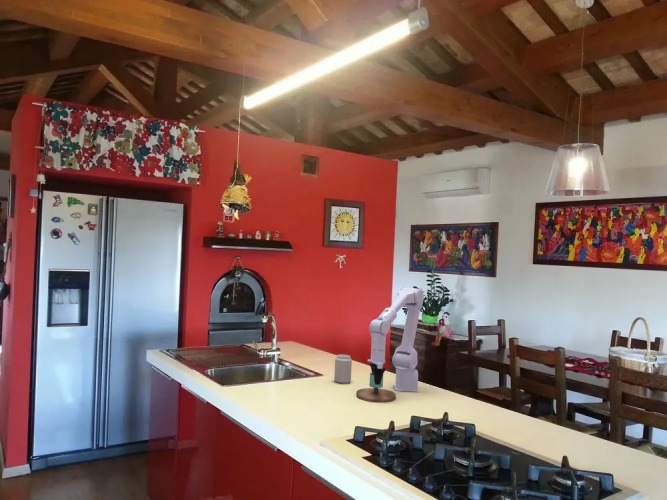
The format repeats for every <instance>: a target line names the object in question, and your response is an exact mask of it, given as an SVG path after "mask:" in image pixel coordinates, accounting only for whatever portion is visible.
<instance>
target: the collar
mask: <svg viewBox="0 0 667 500" xmlns="http://www.w3.org/2000/svg"><path fill="white" fill-rule="evenodd" d="M368 385H369V388H379V389H383V388H384V375H383V376H382V380H381V384H380V385H375V382H374V374H373V373H372V372H369V384H368Z"/></svg>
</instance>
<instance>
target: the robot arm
mask: <svg viewBox="0 0 667 500" xmlns="http://www.w3.org/2000/svg"><path fill="white" fill-rule="evenodd" d="M396 296H397V297H396V298H395V299H394V301H393V303H392V304H391V305H390V306H389V307H385V308H384V310H383V311H381V313H380V315H378V317H377V318H376V319H372V320H371V322H369V323H370V324H369V327H368V329H369V332H370V337H371V342H370V343H371V346H370V347H371V349H370V359H369V358H368V359H367V362H368V363H369V367H370V369H371V371H370V372H371V373H373V374H374V382H375V385H380V384H381V380H382V376H383V377H384V373H385V371H386V369H387V368H386V367H384V365H385V363H386V343H387V340H386V339H387V334H388V333H389V332H390V328H391V324H392V323H393V322H394V321H395V320H396V318H397V317H398V315H397V313H398V312H399V311H400V310H401V309H402V308H403V307H406V309H407V313H406V319H405V322H404V323H405V324H404V330H403V332H402V333H403V334H402V339H401V345H399V346H398V347H396V348H395V351H394V354H393V356H392V359H391V361H392V365H393V366H394V369H395V382H394V384H395V385H394V384H393V385H392V387H393V388H394V390H395V391H396V392H419V391H418V388H419V387H418V386H419V371H418V369H416V367H417V366H418V356H419V355H418V351H417V350H416V349H415V348H414V344H415V340H416V339H415V338H416V334H417V329H418V324H419V319H420V314H421V313H420V312H421V309H422V308H423V303H424V298H425V294H424V292H423V289H421V288H413V287H404V286H402V287H400V288H399V289H398V291H397V295H396Z"/></svg>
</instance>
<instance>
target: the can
mask: <svg viewBox="0 0 667 500" xmlns="http://www.w3.org/2000/svg"><path fill="white" fill-rule="evenodd" d="M352 362H353V360H352V358H351V355H348V354H337V355H336V357H335V359H334V374H333V375H334V377H333V380H334V381H335V383H337V384H343V385H346V384H349V383H350V382H351V381H352V365H353V364H352Z"/></svg>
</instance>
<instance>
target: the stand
mask: <svg viewBox="0 0 667 500" xmlns="http://www.w3.org/2000/svg"><path fill="white" fill-rule="evenodd" d="M355 394H356V395H355V397H356V398H358V399H359V400H362V401H365V402H370V403H389V402H394V401H395V400H396V398H397V397H396V396H397V394H396V392H394V391H392V390H388V389H384V388H373V387H368V388H367V387H366V388H359V389H357V390H356V393H355Z"/></svg>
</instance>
